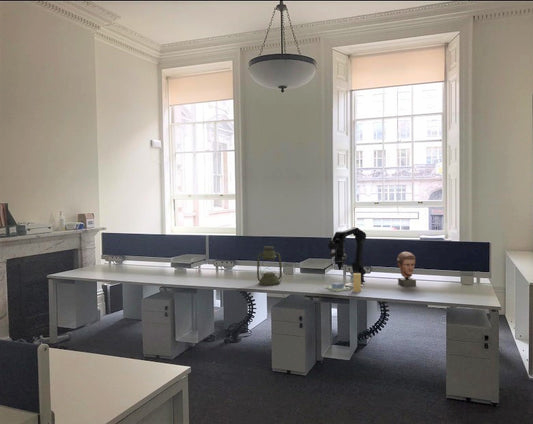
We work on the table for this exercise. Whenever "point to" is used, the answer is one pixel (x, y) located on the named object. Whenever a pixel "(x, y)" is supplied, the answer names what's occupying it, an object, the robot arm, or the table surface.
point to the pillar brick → (357, 282)
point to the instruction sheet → (351, 284)
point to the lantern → (269, 277)
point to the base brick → (337, 285)
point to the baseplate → (337, 289)
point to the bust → (406, 268)
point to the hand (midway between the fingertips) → (340, 268)
